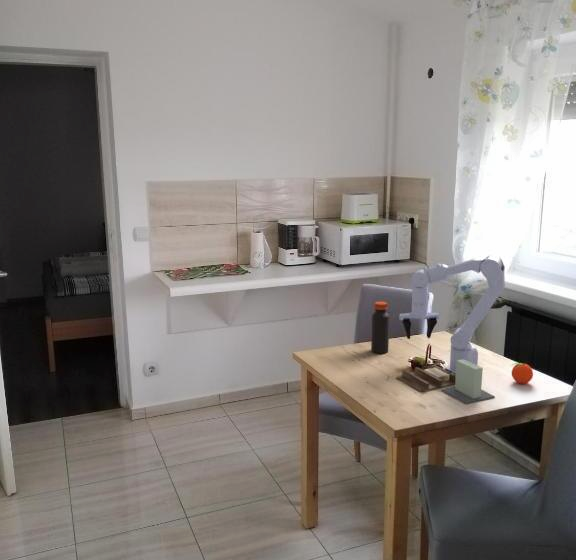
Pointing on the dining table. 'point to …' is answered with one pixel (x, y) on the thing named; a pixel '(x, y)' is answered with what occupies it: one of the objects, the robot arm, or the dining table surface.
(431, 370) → the offcut top
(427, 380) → the rack
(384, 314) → the bottle
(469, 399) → the mat
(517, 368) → the tomato
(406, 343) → the dining table surface
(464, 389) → the sage panel
